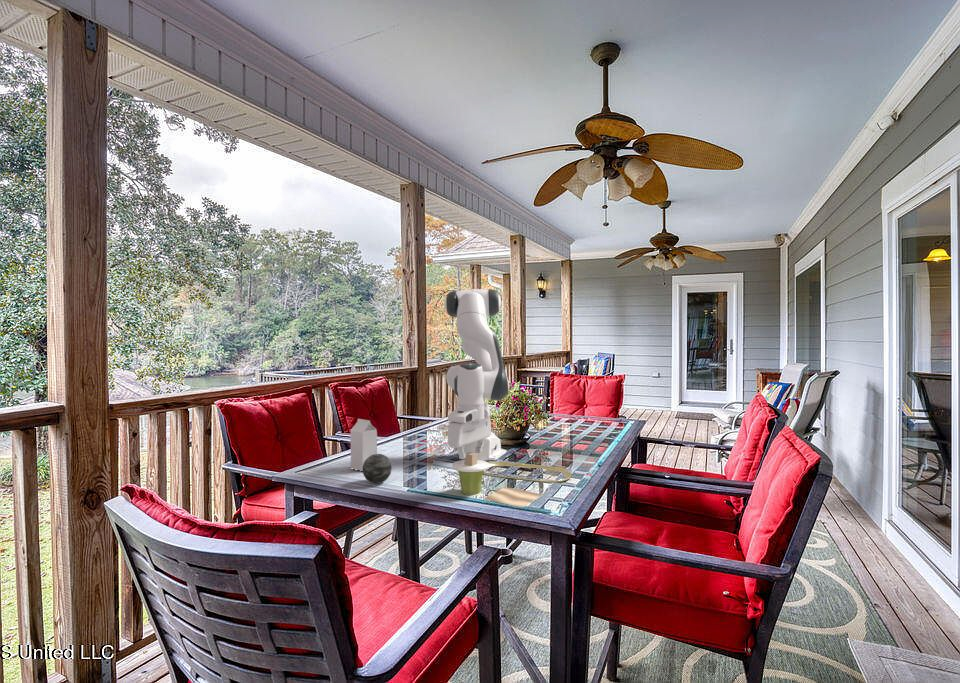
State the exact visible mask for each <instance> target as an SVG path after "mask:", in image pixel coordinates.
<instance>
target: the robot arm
mask: <svg viewBox="0 0 960 683" xmlns="http://www.w3.org/2000/svg"><path fill="white" fill-rule="evenodd" d="M444 301H445V302H444V308H445V311H446V313H447V314H448V316H450V317H452V318H456V331H457V334H458V336H459V337H460V338H461V347H462V348H461V349H462V351H463V353H464V354H465V355H467V356H469V357H470V358H472V359H473V360H474V361H475V362H471V361H470V362H469V361H468V362H464V363H461V364H456V365H452V366H450V368H449V369H448V370H447V372H446V375H445V376H446V378H445V379H446V383H447V385H448V386H449V388H450V389H451V390H453V392H454V395H456V396H457V397H458V399H457V402H456V405H457V406H456V408H455V409H453V411H451V412H450V413H449V414H448V415H447V421H448V422H449V424H448V425H447V442H448V445H449V446H450V447H451V448H452V447H453V448H456V450H457V455H458V458H459V459H460V460H464V459H465V458H466V453H469V452H472V453H477V460H482V461H496V460H498V459H499V458H501V457H502V456H504V455H505V454H506V453H507V450H506V449H504V448H502V444H501V439H500V438H499V437H498V436H497V435H496V434H495V433H494V432H493V429H495V427H496V424H495V422H494V423H493V422H491V418H490V412H491V411H490V404H489V403H488V402H487V401H488V400H490V401H499V402H500V401H502V400H504V399H505V398H506V397H507V396H508V395H509V391H510V382H509V378H508V375H507V372H506V369H505V365H504V360H503V355H502V351H501V348H500V343H499V340H498V339H499V338H498V336H497V333H496V332H495V331H494V330H493V329H490V326H489V325H488V316H489V319H491V318H492V317H494V316H496V315H497V314H499V312H500V310H501V307H502V299H501V296H500V293H499V291H497V290H495V289H492V288H491V289H490V288H489V289H484V288H482V289H481V288H473V289H463V290H452V291H450V292H448V293H447V295H446V298H445V299H444ZM486 400H487V401H486Z"/></svg>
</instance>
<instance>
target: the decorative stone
mask: <svg viewBox="0 0 960 683" xmlns="http://www.w3.org/2000/svg"><path fill="white" fill-rule="evenodd" d="M392 467H393V464H392V461H391V460H390V458H389V457H388V456H386V455H385V454H383V453H377V454H373V455H371V456H369V457H368V458H367V459H366V460H365V462H364V464H363V472H362V474H363V476H364V478H365V479H366V480H367V481H368V482H369V483H372V484H381V483H383V482H385V481H387V480H388V479H389V477H390V476H391V474H392V471H393V468H392Z"/></svg>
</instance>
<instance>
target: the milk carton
mask: <svg viewBox="0 0 960 683" xmlns="http://www.w3.org/2000/svg"><path fill="white" fill-rule="evenodd" d="M373 454H378V430H377V428H376V427H375V426H374V425H372V423H371V420H368V419H363V418H362V419H361V418H357V421H356V423H355V424H354V425H353V426H352V428H351V429H350V469H351V468H353V469H357V470H361V471H363V464H364V462H365V460H366V459H367V458H368V457H369V456H371V455H373ZM353 469H352V470H353ZM357 470H356V471H357ZM361 471H360V472H361Z"/></svg>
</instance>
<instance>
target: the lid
mask: <svg viewBox="0 0 960 683" xmlns="http://www.w3.org/2000/svg"><path fill="white" fill-rule="evenodd" d="M489 463H490V462H487V460H485V461H482V460H477V453H472V452H469V453H466V458H465V459H460V460H457V461H454V462H453V463H451V464H452V465H451V467H452V469H453V470H454V471H457V472H458V471H462V472H479V471H486V470H488V469H489V468H490V467H489Z"/></svg>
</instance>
